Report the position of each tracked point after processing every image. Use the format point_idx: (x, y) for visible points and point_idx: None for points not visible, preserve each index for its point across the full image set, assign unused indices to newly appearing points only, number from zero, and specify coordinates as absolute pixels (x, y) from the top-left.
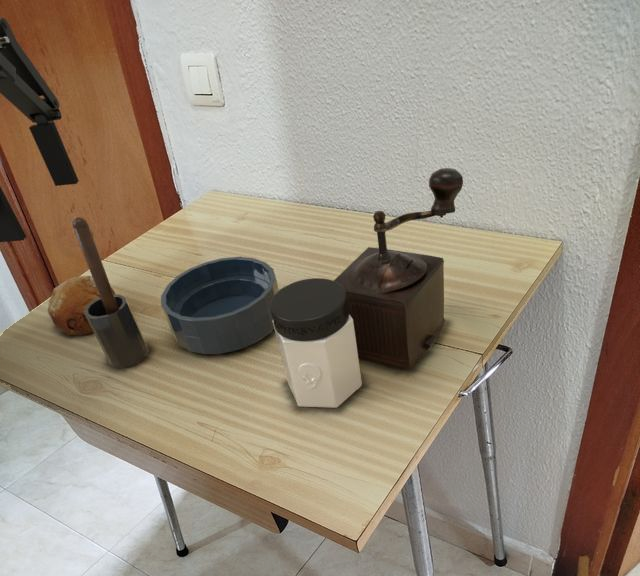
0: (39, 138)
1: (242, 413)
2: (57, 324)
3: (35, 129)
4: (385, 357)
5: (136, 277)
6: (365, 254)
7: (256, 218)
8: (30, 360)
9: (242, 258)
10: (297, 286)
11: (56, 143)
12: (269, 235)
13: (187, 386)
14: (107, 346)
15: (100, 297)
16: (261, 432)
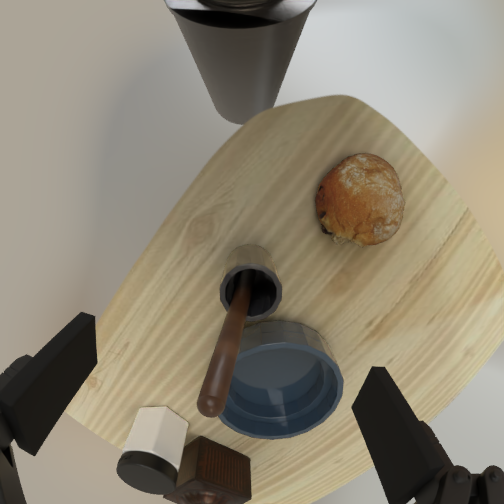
0: (408, 456)
1: (136, 373)
2: (339, 164)
3: (416, 475)
4: None
5: (422, 250)
6: (237, 498)
7: (458, 366)
8: (282, 133)
9: (328, 413)
10: (163, 480)
11: (381, 469)
12: (421, 385)
13: (177, 334)
14: (225, 267)
15: (232, 308)
16: (116, 382)
